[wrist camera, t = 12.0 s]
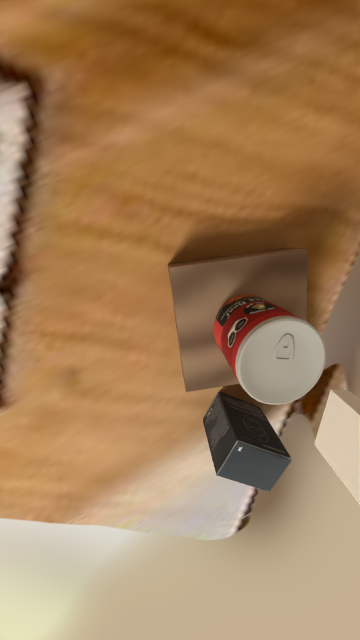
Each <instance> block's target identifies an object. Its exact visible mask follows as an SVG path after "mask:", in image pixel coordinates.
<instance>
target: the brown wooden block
mask: <svg viewBox="0 0 360 640" xmlns="http://www.w3.org/2000/svg"><path fill="white" fill-rule="evenodd" d="M168 269H169V276H170V283H171V291H172V298H173V305H174V312H175V320H176V327H177V334H178V341H179V349H180V356H181V363H182V370H183V377H184V382H185V388H186V392H189V391H195V390H202V389H208V388H215V387H221V386H228V385H234V384H240V383H239V381H238V379H237V378H236V376H235V375H234V373H233V371H232V369H231V367H230V366H229V364H228V362H227V360H226V358H225V357H224V355H223V353H222V351H221V349H220V348H219V346H218V344H217V342H216V339H215V336H214V323H215V318H216V316H217V314H218V311H219V310H220V309H221V307H222V306H223V305H224V304H225V303H226V302H227V301H229V300H230V299H232V298H234V297H236V296H239V295H243V294H253V295H257V296H260V297H262V298H264V299H266V300H268V301H270V302H272V303H274V304H275V305H277V306H279V307H281V308H283V309H285V310H287V311H289V312H291V313H293V314H294V315H296V316H298V317H300V318H301V319H303V320H305V321H307V249H299V248H284V249H276V250H269V251H262V252H254V253H247V254H239V255H232V256H225V257H217V258H210V259H203V260H195V261H188V262H181V263H173V264H168Z"/></svg>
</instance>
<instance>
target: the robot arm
mask: <svg viewBox="0 0 360 640" xmlns="http://www.w3.org/2000/svg"><path fill="white" fill-rule="evenodd" d="M314 445H315V446H316V447H317V449H318V450H319V451H320V453H321V454H322V455H323V457H324V458H325V459H326V461H327V462H328V463H329V465H330V466H331V467H332V469H333V470H334V471H335V473H336V474H337V475H338V477H339V478H340V479H341V481H342V482H343V483H344V485H345V486H346V487H347V489H348V490H349V491H350V492H351V494H352V495H353V497H354V498H355V499H356V501H357V502H358V503H359V505H360V400H359V399H358V398H357V397H356V396H354V395H353V394H352V393H351V392H349V391H348V390H331V391H330V394H329V397H328V401H327V404H326V407H325V411H324V414H323V417H322V421H321V424H320V427H319V431H318V434H317V437H316V440H315V444H314Z"/></svg>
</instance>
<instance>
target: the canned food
mask: <svg viewBox="0 0 360 640" xmlns="http://www.w3.org/2000/svg"><path fill="white" fill-rule="evenodd" d="M214 336H215V339H216V342H217V344H218V346H219V348H220V349H221V351H222V353H223V355H224V357H225V358H226V360H227V362H228V364H229V366H230V367H231V369H232V371H233V373H234V375H235V376H236V378H237V379H238V381H239V383H240V384H241V386H242V387H243V389H244V390H245V391H246V392H247V393H248V394H249V395H250V396H251V397H252V398H254V399H255V400H257V401H259V402H262V403H265V404H271V405H279V404H285V403H290V402H292V401H294V400H297V399H299V398H300V397H302V396H303V395H305V394H306V393H307V392H308V391H310V390H311V389H312V388H313V386H314V385H315V384H316V383H317V381H318V380H319V378H320V376H321V374H322V372H323V369H324V366H325V361H326V349H325V345H324V341H323V339H322V337H321V335H320V333H319V332H318V331H317V330H316V329H315V328H314V327H313V326H312V325H311V324H309V323H308V322H307V321H305V320H303V319H301V318H300V317H298V316H296V315H294V314H293V313H291V312H289V311H287V310H285V309H283V308H281V307H279V306H277V305H275V304H274V303H272V302H270V301H268V300H266V299H264V298H262V297H260V296H257V295H253V294H243V295H239V296H236V297H234V298H232V299H230V300H229V301H227V302H226V303H225V304H224V305H223V306H222V307H221V309H220V310H219V311H218V314H217V316H216V318H215V323H214Z"/></svg>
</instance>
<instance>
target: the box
mask: <svg viewBox="0 0 360 640" xmlns="http://www.w3.org/2000/svg"><path fill="white" fill-rule="evenodd" d="M203 423H204V427H205V431H206V435H207V439H208V443H209V447H210V451H211V455H212V460H213V463H214V467H215V471H216V475H217V476H221V477H224V478H227V479H230V480H233V481H237V482H240V483H243V484H246V485H250V486H253V487H256V488H259V489H262V490H266V491H269V492H270V490H271V489H272V488H273V486H274V485H275V483H276V482H277V480H278V479H279V478H280V476H281V475H282V473H283V472H284V470H285V469H286V467H287V466H288V465H289V463H290V462H291V457H290V455H289V454H288V452H287V451H286V449H285V447H284V446H283V444H282V442H281V441H280V439H279V438H278V436H277V434H276V433H275V431H274V429H273V428H272V426H271V425H270V423H269V421H268V420H267V418H266V416H265V415H264V413H263V411H262V410H261V408H259V407H256V406H254V405H251V404H248V403H246V402H243V401H241V400H238V399H235V398H233V397H230V396H228V395H225V394H222V393H220V392H218V394H217V396H216V397H215V399H214V401H213V402H212V404H211V406H210V408H209V410H208V411H207V413H206V415H205V417H204V418H203Z"/></svg>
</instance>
